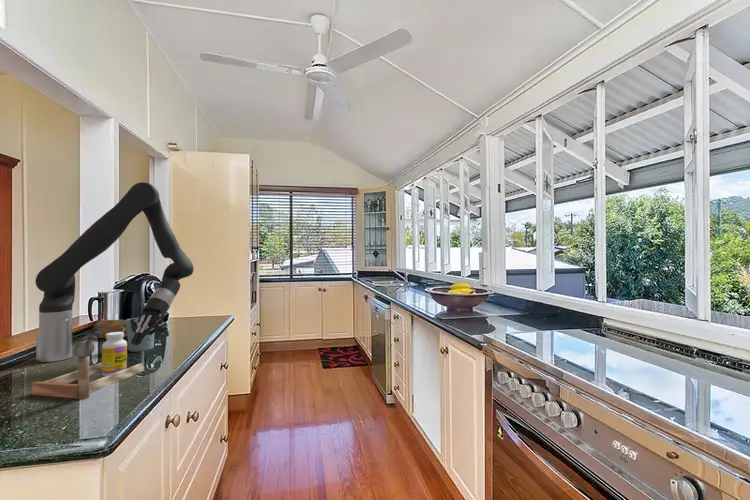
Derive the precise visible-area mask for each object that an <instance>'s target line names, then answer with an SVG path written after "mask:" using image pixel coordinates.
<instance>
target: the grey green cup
mask: <svg viewBox="0 0 750 500" xmlns="http://www.w3.org/2000/svg"><path fill="white" fill-rule="evenodd" d="M137 318H139V316H138V317H132V318H127V319H126V320H125V321H126V327H127V336H126V337H127V350H128V352H137V353H138V352H146V351H149V350H152V349H154V347H155V333H153V334H152V335H147V336H145V337H144V338H143V340H142V342H141V343H140V344H139V345H138V346H137V345H133V344H132V343H131V340H132V338H133V337H134V335H135V333H134V332H133V331H132V329H131V323H130V320H131V319H134V320H135V319H137ZM153 329H154V328H153ZM153 329H152V330H153ZM152 330H151V331H152ZM140 331H141V330H140Z"/></svg>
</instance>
